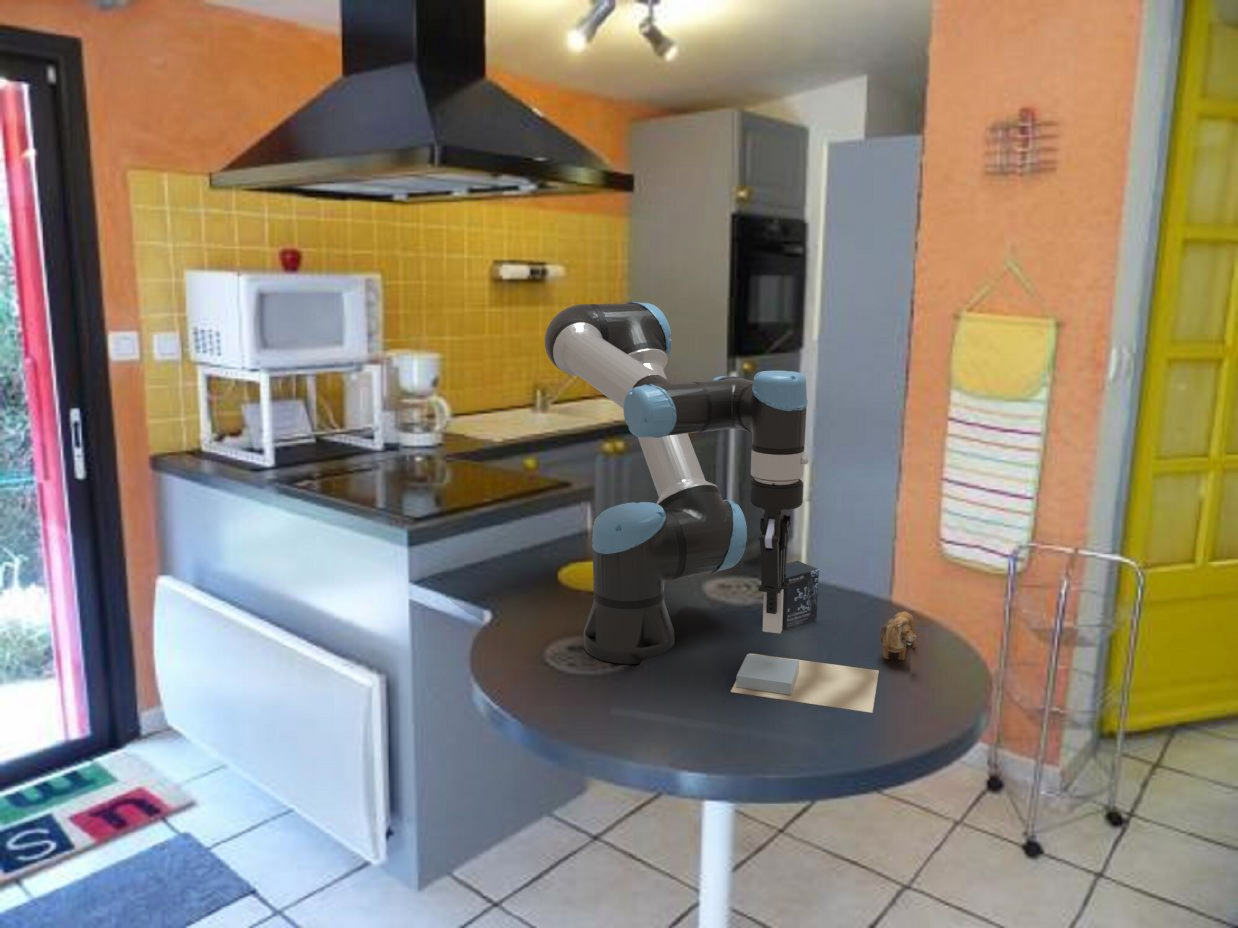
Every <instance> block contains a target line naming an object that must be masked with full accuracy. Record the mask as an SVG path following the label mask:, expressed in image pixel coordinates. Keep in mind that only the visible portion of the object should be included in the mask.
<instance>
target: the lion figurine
mask: <svg viewBox="0 0 1238 928" xmlns="http://www.w3.org/2000/svg"><path fill="white" fill-rule="evenodd" d="M915 630H916V624H915V619H914V616H913V615H912V614H910V612H908V611H901V612H897V613H896V614H895V615H894V616H892V617H890V618H889V619H888V620H886V622H885V624H884V625H883V626H882V628H881V632H880V643H881V649H882V659H884V660H889V659H890V656H889V655H890V654H889V653H890V652H891V653H895V654H896V653H898V657H897V660H899V661H904V660H905V656H906V652H907V645H908V646H911V649H915V648H916V638H917V637H918V636H917V635H916V633H915V632H916V631H915Z"/></svg>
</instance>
